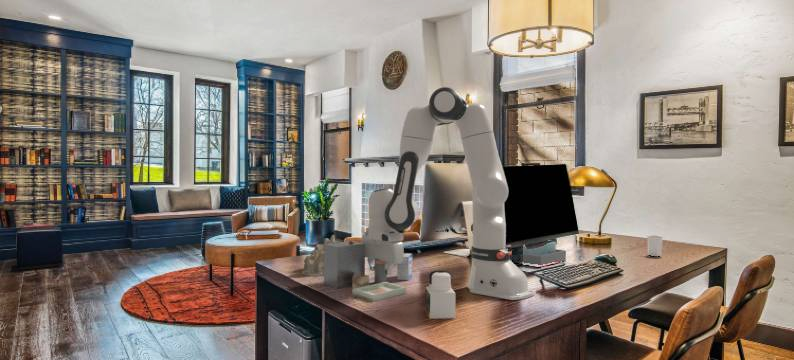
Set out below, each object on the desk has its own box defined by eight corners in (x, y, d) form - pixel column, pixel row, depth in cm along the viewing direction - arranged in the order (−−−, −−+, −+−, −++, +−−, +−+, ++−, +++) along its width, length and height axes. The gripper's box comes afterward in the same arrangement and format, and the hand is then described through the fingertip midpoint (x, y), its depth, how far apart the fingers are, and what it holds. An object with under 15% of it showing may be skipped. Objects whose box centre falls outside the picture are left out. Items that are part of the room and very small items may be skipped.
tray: (406, 293, 146) (406, 287, 146) (372, 301, 136) (372, 295, 136) (385, 287, 153) (385, 281, 153) (352, 294, 143) (352, 288, 143)
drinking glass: (663, 257, 213) (664, 237, 213) (647, 256, 216) (648, 236, 216) (661, 255, 220) (661, 235, 219) (645, 254, 222) (646, 234, 222)
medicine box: (408, 280, 163) (408, 257, 163) (396, 280, 164) (396, 256, 164) (412, 276, 171) (412, 253, 171) (400, 275, 172) (401, 252, 172)
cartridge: (389, 283, 159) (389, 258, 159) (379, 285, 156) (380, 259, 156) (381, 280, 163) (381, 256, 162) (371, 282, 160) (371, 257, 159)
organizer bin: (565, 261, 202) (565, 250, 202) (540, 268, 187) (540, 256, 187) (537, 257, 212) (537, 246, 212) (511, 263, 197) (511, 251, 197)
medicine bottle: (425, 311, 127) (425, 269, 127) (450, 310, 128) (450, 268, 128) (429, 319, 120) (429, 274, 120) (455, 318, 121) (455, 274, 121)
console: (364, 282, 160) (365, 241, 159) (337, 288, 151) (337, 245, 151) (350, 278, 166) (350, 239, 166) (323, 283, 158) (323, 242, 157)
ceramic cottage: (329, 265, 189) (328, 230, 188) (346, 274, 175) (344, 236, 174) (293, 271, 181) (292, 235, 180) (308, 281, 167) (306, 242, 166)
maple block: (368, 287, 154) (368, 275, 154) (361, 289, 151) (361, 277, 150) (359, 285, 156) (359, 274, 156) (352, 287, 153) (352, 276, 153)
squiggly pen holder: (523, 265, 194) (523, 244, 194) (511, 261, 204) (511, 240, 204) (558, 263, 199) (559, 242, 199) (545, 259, 209) (545, 239, 209)
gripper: (355, 231, 165) (355, 269, 165) (393, 237, 150) (392, 279, 150) (369, 230, 169) (368, 266, 169) (406, 236, 154) (406, 276, 154)
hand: (380, 272), depth 159 cm, fingers open, 7 cm apart
